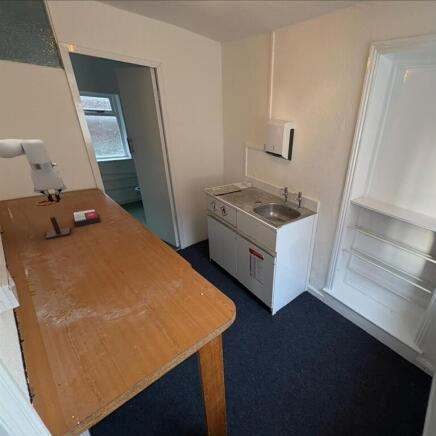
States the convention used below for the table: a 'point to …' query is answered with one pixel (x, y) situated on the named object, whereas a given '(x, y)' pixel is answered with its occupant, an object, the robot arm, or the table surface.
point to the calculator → (85, 217)
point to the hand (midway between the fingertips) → (55, 201)
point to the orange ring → (45, 203)
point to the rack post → (57, 230)
